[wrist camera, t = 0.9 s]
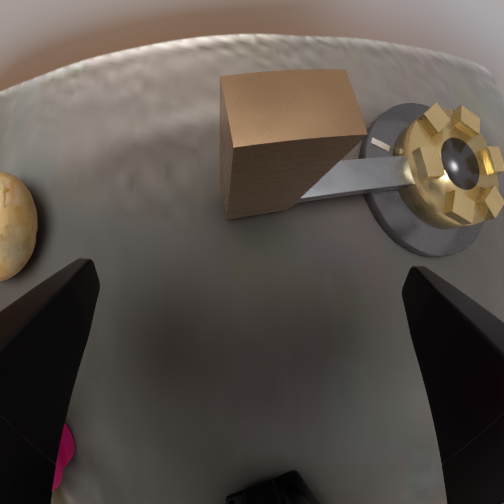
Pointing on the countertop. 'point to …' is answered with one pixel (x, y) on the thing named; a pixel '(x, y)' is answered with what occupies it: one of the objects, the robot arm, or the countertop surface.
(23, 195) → the onion
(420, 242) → the flange
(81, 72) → the countertop surface
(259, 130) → the crank handle
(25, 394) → the robot arm
